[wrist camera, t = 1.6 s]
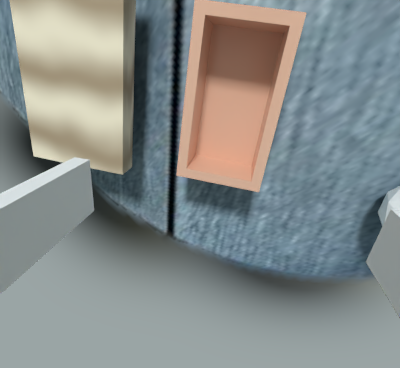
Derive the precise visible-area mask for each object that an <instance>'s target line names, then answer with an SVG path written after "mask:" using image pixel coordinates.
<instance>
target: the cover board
mask: <svg viewBox="0 0 400 368" xmlns="http://www.w3.org/2000/svg"><path fill="white" fill-rule="evenodd" d="M10 6H11V12H12V19H13V25H14V32H15V38H16V45H17V51H18V58H19V64H20V71H21V77H22V84H23V90H24V97H25V103H26V110H27V116H28V122H29V129H30V135H31V142H32V148H33V154H34V156H36V157H40V158H45V159H49V160H54V161H59V162H66V161H68V160H70V159H72V158H74V157H76V158H82V159H88V160H90V168H93V169H98V170H102V171H107V172H112V173H117V174H122V175H123V174H124V173H125V172H127V171H128V170H129V169H130V168H131V167H132V147H133V102H134V56H135V11H136V0H10Z"/></svg>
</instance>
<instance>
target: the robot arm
mask: <svg viewBox="0 0 400 368" xmlns="http://www.w3.org/2000/svg"><path fill="white" fill-rule="evenodd" d="M93 211H94V204H93V193H92V181H91V170H90V160H88V159H82V158H76V157H74V158H72V159H70V160H68V161H66V162H64V163H62V164H60V165H58V166H56V167H54V168H52V169H49V170H47V171H46V172H43V173H41V174H39V175H37V176H35V177H33V178H31V179H29V180H27V181H25V182H23V183H21V184H19V185H17V186H15V187H13V188H11V189H9V190H7V191H5V192H3V193H0V294H1V293H2V292H3V291H5V290H6V289H7V288H8V287H9V286H10V285H11V284H12V283H13V282H14V281H16V280H17V279H18V278H19V277H20V276H21V275H22V274H24V273H25V272H26V271H27V270H28V269H29V268H30V267H31V266H33V265H34V264H35V263H36V262H37V261H38V260H39V259H40V258H41V257H43V256H44V255H45V254H46V253H47V252H48V251H49V250H50V249H52V248H53V247H54V246H55V245H56V244H57V243H58V242H59V241H61V240H62V239H63V238H64V237H65V236H66V235H67V234H68V233H69V232H70V231H72V230H73V229H74V228H75V227H76V226H77V225H78V224H80V222H82V221H83V220H84V219H85V218H86V217H87V216H89V215H90V214H91V213H92V212H93ZM366 263H367V265H368V267H369V268H370V270H371V271H372V273H373V275H374V276H375V278H376V280H377V281H378V283H379V285H380V286H381V288H382V290H383V291H384V293H385V295H386V296H387V298H388V300H389V301H390V303H391V304H392V306H393V308H394V309H395V311H396V313H397V314H398V316H399V318H400V210H394V209H391V210H390V212H389V214H388V216H387V218H386V220H385V222H384V224H383V227H382V229H381V231H380V233H379V235H378V237H377V239H376V241H375V243H374V245H373V248H372V250H371V252H370V254H369V256H368V258H367V260H366Z"/></svg>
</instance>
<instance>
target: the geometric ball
mask: <svg viewBox="0 0 400 368" xmlns="http://www.w3.org/2000/svg"><path fill="white" fill-rule="evenodd" d="M391 209H394V210H400V186H399V187H397V188H395V189H393V190H391V191H389V192H387V194H386V196H385V198H384V200H383V202H382V204H381V206H380V208H379V210H378V214H379V217H380V221H381V224H382V227H383V224H384V222H385V220H386V218H387V216H388V214H389V212H390V210H391Z"/></svg>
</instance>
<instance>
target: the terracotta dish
mask: <svg viewBox="0 0 400 368" xmlns="http://www.w3.org/2000/svg"><path fill="white" fill-rule="evenodd" d="M305 16H306V12H298V11H289V10H281V9H273V8H265V7H257V6H249V5H241V4H233V3H225V2H216V1H208V0H195V3H194V12H193V22H192V31H191V41H190V51H189V60H188V70H187V79H186V89H185V98H184V108H183V117H182V127H181V137H180V146H179V156H178V165H177V176H182V177H187V178H191V179H196V180H201V181H206V182H211V183H216V184H221V185H226V186H231V187H236V188H241V189H246V190H250V191H255V192H259V190H260V186H261V182H262V178H263V175H264V171H265V167H266V163H267V160H268V156H269V152H270V148H271V145H272V141H273V137H274V133H275V130H276V126H277V122H278V118H279V114H280V111H281V107H282V103H283V99H284V96H285V92H286V88H287V84H288V81H289V77H290V73H291V69H292V65H293V62H294V58H295V54H296V50H297V47H298V43H299V39H300V35H301V32H302V28H303V24H304V20H305Z"/></svg>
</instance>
